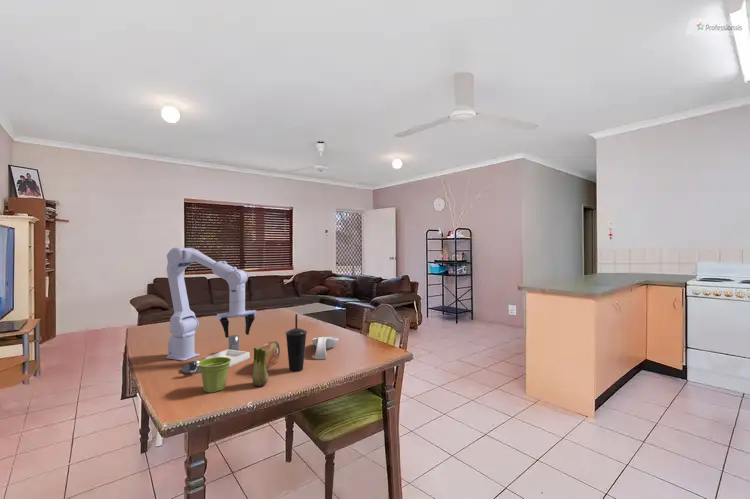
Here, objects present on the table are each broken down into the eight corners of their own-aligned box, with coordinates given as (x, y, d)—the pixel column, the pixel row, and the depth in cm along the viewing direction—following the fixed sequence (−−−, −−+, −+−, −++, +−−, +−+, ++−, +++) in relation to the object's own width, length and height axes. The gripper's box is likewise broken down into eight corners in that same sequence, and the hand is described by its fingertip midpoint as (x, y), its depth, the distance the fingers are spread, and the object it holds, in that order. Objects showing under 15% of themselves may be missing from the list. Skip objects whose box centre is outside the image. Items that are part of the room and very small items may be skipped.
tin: (260, 374, 123) (260, 350, 123) (252, 373, 123) (252, 349, 123) (280, 360, 138) (280, 339, 138) (273, 360, 138) (273, 338, 138)
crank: (192, 364, 128) (192, 355, 128) (200, 364, 129) (200, 354, 129) (187, 373, 119) (187, 363, 119) (196, 372, 120) (196, 362, 120)
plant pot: (205, 383, 114) (205, 356, 114) (235, 382, 115) (235, 356, 115) (192, 395, 105) (192, 366, 105) (225, 394, 105) (225, 365, 105)
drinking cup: (310, 367, 130) (310, 313, 129) (299, 374, 122) (299, 317, 122) (292, 365, 132) (292, 312, 132) (281, 371, 125) (281, 315, 125)
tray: (203, 364, 132) (203, 358, 132) (227, 355, 144) (227, 349, 144) (226, 368, 128) (226, 361, 128) (249, 358, 140) (249, 352, 140)
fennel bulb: (251, 382, 115) (251, 346, 115) (267, 380, 117) (267, 344, 117) (253, 389, 110) (253, 350, 110) (269, 386, 112) (269, 349, 112)
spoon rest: (313, 344, 162) (313, 328, 162) (338, 343, 162) (338, 328, 162) (306, 360, 138) (306, 342, 138) (336, 360, 139) (336, 342, 139)
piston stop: (226, 353, 146) (226, 336, 146) (233, 350, 150) (233, 334, 150) (234, 354, 145) (234, 337, 145) (240, 351, 149) (240, 335, 149)
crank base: (175, 371, 124) (175, 368, 124) (196, 364, 133) (196, 361, 133) (194, 375, 121) (194, 372, 121) (215, 366, 130) (215, 363, 130)
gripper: (219, 304, 130) (219, 340, 130) (259, 300, 138) (258, 335, 138) (215, 301, 135) (215, 336, 135) (253, 298, 144) (253, 331, 144)
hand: (237, 335), depth 137 cm, fingers open, 7 cm apart
